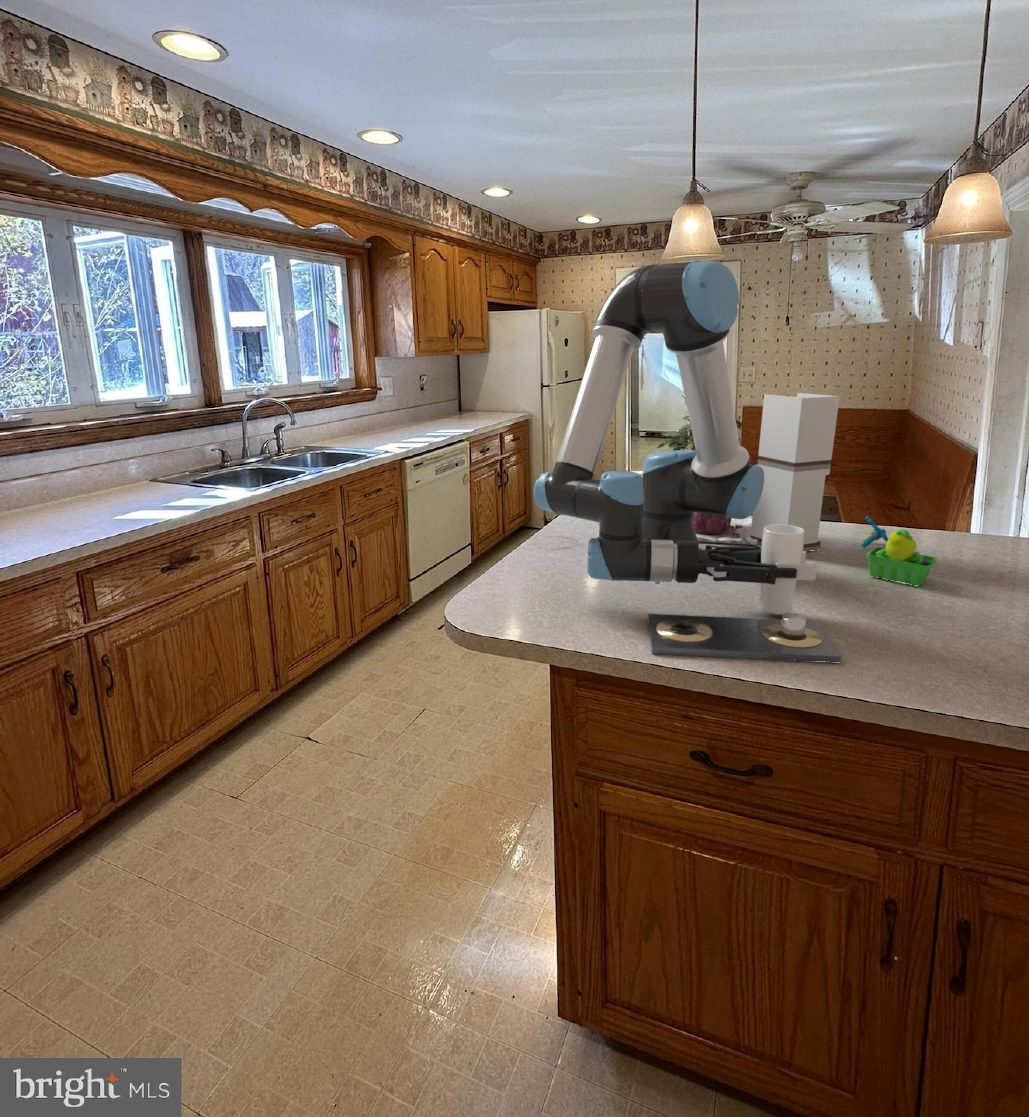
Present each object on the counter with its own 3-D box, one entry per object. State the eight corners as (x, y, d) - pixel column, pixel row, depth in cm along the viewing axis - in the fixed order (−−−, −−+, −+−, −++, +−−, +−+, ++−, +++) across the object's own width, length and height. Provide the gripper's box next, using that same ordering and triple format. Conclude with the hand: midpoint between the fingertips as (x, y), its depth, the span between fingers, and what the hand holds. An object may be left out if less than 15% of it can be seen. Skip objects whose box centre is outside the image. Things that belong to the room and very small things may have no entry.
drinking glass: (795, 605, 128) (804, 525, 123) (796, 619, 122) (806, 535, 117) (755, 601, 130) (763, 522, 125) (754, 614, 124) (763, 532, 119)
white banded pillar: (819, 550, 164) (839, 396, 154) (784, 555, 160) (802, 398, 150) (784, 538, 174) (800, 393, 164) (749, 543, 170) (764, 394, 160)
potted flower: (754, 520, 190) (764, 386, 179) (757, 544, 167) (769, 393, 157) (653, 515, 197) (658, 386, 187) (643, 538, 174) (648, 393, 164)
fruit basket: (933, 581, 143) (943, 527, 140) (921, 592, 137) (931, 536, 134) (873, 569, 151) (881, 517, 147) (859, 579, 145) (867, 525, 141)
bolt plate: (814, 627, 120) (818, 603, 119) (839, 663, 107) (843, 636, 106) (647, 620, 124) (649, 596, 123) (651, 653, 111) (653, 627, 109)
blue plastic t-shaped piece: (902, 549, 159) (871, 515, 160) (879, 565, 161) (849, 532, 162) (896, 543, 169) (868, 511, 170) (875, 559, 171) (846, 527, 172)
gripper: (669, 564, 136) (794, 568, 133) (677, 600, 118) (822, 606, 115) (671, 526, 134) (798, 530, 131) (680, 557, 115) (828, 562, 112)
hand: (809, 565), depth 123 cm, fingers closed on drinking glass, 6 cm apart
